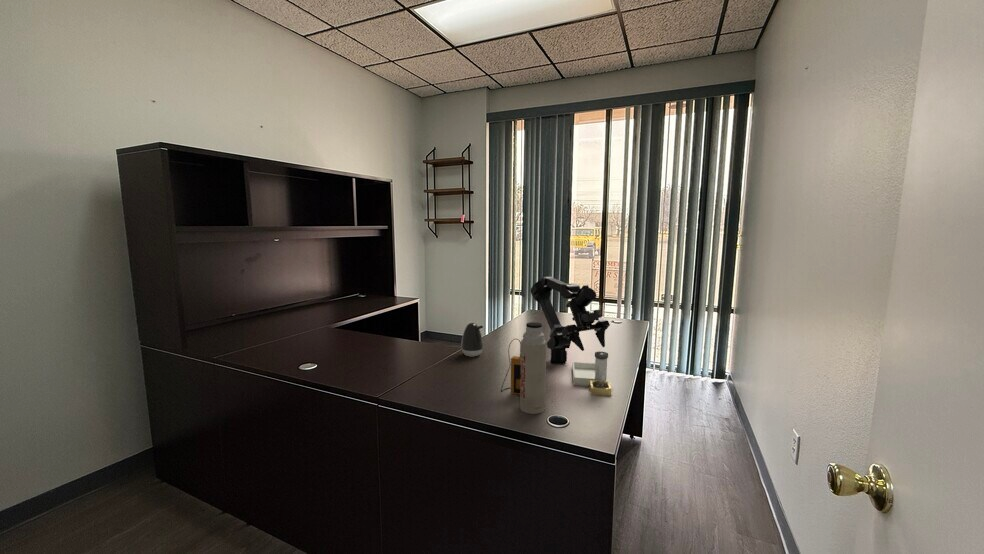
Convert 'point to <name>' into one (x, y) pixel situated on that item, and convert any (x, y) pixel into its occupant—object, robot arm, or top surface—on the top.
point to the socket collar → (600, 389)
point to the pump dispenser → (472, 340)
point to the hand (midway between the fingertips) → (593, 348)
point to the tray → (583, 373)
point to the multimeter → (515, 373)
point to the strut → (600, 369)
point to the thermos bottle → (533, 369)
